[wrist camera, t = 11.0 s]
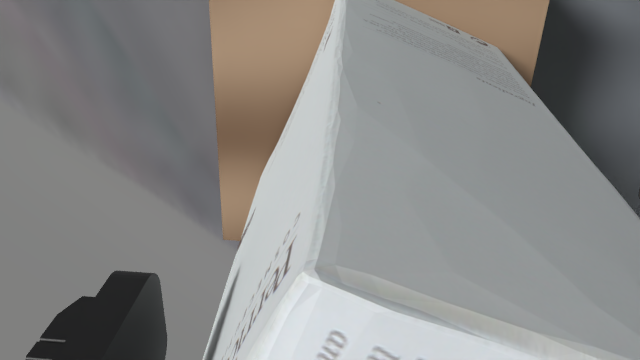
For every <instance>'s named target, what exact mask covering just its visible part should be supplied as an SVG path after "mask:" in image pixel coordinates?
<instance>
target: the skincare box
mask: <svg viewBox="0 0 640 360" xmlns="http://www.w3.org/2000/svg"><path fill="white" fill-rule="evenodd" d="M203 360H640V218H639V217H638V216H637V214H636V213H635V212H634V211H633V210H632V208H631V207H630V206H629V205H628V203H627V202H626V201H625V200H624V199H623V197H622V196H621V195H620V194H619V192H618V191H617V190H616V189H615V187H614V186H613V185H612V184H611V183H610V182H609V181H608V179H607V178H606V177H605V176H604V175H603V174H602V173H601V171H600V170H599V169H598V168H597V167H596V166H595V165H594V163H593V162H592V161H591V160H590V159H589V157H588V156H587V155H586V154H585V153H584V151H583V150H582V149H581V148H580V147H579V146H578V144H577V143H576V142H575V141H574V140H573V138H572V137H571V136H570V135H569V133H568V132H567V131H566V130H565V129H564V127H563V126H562V125H561V124H560V123H559V121H558V120H557V119H556V118H555V117H554V115H553V114H552V113H551V112H550V111H549V109H548V108H547V107H546V106H545V105H544V103H543V102H542V101H541V99H540V98H539V97H538V96H537V95H536V94H535V92H534V91H533V90H532V89H531V88H530V86H529V85H528V84H527V82H526V81H525V80H524V79H523V77H522V76H521V75H520V74H519V73H518V71H517V70H516V69H515V68H514V67H513V65H512V64H511V63H510V62H509V60H508V59H507V58H506V57H505V56H504V54H503V53H502V52H501V51H500V50H499V49H498V48H497V47H496V46H494V45H492V44H489V43H487V42H485V41H483V40H481V39H479V38H476V37H474V36H472V35H470V34H468V33H466V32H463V31H461V30H459V29H457V28H455V27H453V26H450V25H448V24H446V23H444V22H442V21H439V20H437V19H435V18H433V17H431V16H428V15H426V14H424V13H422V12H419V11H417V10H415V9H413V8H410V7H408V6H406V5H404V4H402V3H399V2H397V1H395V0H335V2H334V5H333V8H332V12H331V16H330V19H329V22H328V24H327V27H326V30H325V32H324V35H323V37H322V40H321V43H320V45H319V48H318V50H317V53H316V55H315V58H314V60H313V63H312V65H311V68H310V70H309V73H308V76H307V78H306V80H305V83H304V85H303V87H302V90H301V92H300V94H299V97H298V99H297V101H296V104H295V106H294V108H293V110H292V113H291V115H290V117H289V119H288V121H287V124H286V126H285V128H284V130H283V132H282V134H281V137H280V139H279V141H278V143H277V145H276V147H275V149H274V151H273V153H272V155H271V156H270V158H269V160H268V162H267V164H266V166H265V168H264V171H263V173H262V175H261V178H260V181H259V184H258V187H257V190H256V193H255V196H254V199H253V202H252V205H251V208H250V211H249V215H248V218H247V221H246V224H245V227H244V231H243V234H242V237H241V240H240V243H239V246H238V249H237V253H236V256H235V260H234V262H233V266H232V268H231V271H230V274H229V278H228V281H227V284H226V287H225V290H224V294H223V296H222V300H221V303H220V306H219V309H218V312H217V315H216V319H215V322H214V325H213V328H212V332H211V335H210V338H209V341H208V345H207V348H206V350H205V354H204V357H203Z"/></svg>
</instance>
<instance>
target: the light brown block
mask: <svg viewBox="0 0 640 360" xmlns="http://www.w3.org/2000/svg"><path fill="white" fill-rule="evenodd" d="M395 1H397V2H399V3H402V4H404V5H406V6H408V7H410V8H413V9H415V10H417V11H419V12H422V13H424V14H426V15H428V16H431V17H433V18H435V19H437V20H439V21H442V22H444V23H446V24H448V25H450V26H453V27H455V28H457V29H459V30H461V31H463V32H466V33H468V34H470V35H472V36H474V37H476V38H479V39H481V40H483V41H485V42H487V43H489V44H492V45H494V46H496V47H497V48H498V49H499V50H500V51H501V52H502V53H503V54H504V56H505V57H506V58H507V59H508V60H509V62H510V63H511V64H512V65H513V67H514V68H515V69H516V70H517V71H518V73H519V74H520V75H521V76H522V77H523V79H524V80H525V81H526V82H527V84H528V85H529V86H530V88H531V83H532V78H533V74H534V69H535V65H536V60H537V55H538V51H539V46H540V41H541V37H542V32H543V28H544V23H545V18H546V14H547V9H548V5H549V0H395ZM334 2H335V0H209V8H210V25H211V42H212V59H213V75H214V92H215V109H216V126H217V143H218V160H219V176H220V193H221V210H222V227H223V240H236V241H240V240H241V237H242V234H243V231H244V227H245V224H246V221H247V218H248V215H249V211H250V208H251V205H252V202H253V199H254V196H255V193H256V190H257V187H258V184H259V181H260V178H261V175H262V173H263V171H264V168H265V166H266V164H267V162H268V160H269V158H270V156H271V155H272V153H273V151H274V149H275V147H276V145H277V143H278V141H279V139H280V137H281V134H282V132H283V130H284V128H285V126H286V124H287V121H288V119H289V117H290V115H291V113H292V110H293V108H294V106H295V104H296V101H297V99H298V97H299V94H300V92H301V90H302V87H303V85H304V83H305V80H306V78H307V76H308V73H309V70H310V68H311V65H312V63H313V60H314V58H315V55H316V53H317V50H318V48H319V45H320V43H321V40H322V37H323V35H324V32H325V30H326V27H327V24H328V22H329V19H330V16H331V12H332V8H333V5H334Z"/></svg>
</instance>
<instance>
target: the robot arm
mask: <svg viewBox="0 0 640 360" xmlns="http://www.w3.org/2000/svg"><path fill="white" fill-rule="evenodd" d="M166 348H167V332H166V324H165V317H164V308H163V301H162V293H161V285H160V280H159V277H158V275H157V274H155V273H142V272H128V271H114V272H113V273H112V274H111V275H110V276H109V278H108V279H107V281H106V282H105V284H104V285H103V287H102V288H101V289H100V291H99V293H98V294H97V295H96V297H85V296H84V297H83V296H82V297H81V298H79V299H78V300H77V301H75V302H74V303H73V304H71V305H70V306H68V307H67V308H66V309H64V310H63V311H62V312H60V313H59V314H57V316H56V317H55V318H54V320H53V321H52V322H51V324H50V325H49V326H48V328H47V329H46V330H45V332H44V333H43V334H42V336H41V337H40V342H37V343H36V344H35V345H34V347H33V348H32V349H31V350H30V352H29V353H28V354H27V356H26V360H165V355H166Z"/></svg>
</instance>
